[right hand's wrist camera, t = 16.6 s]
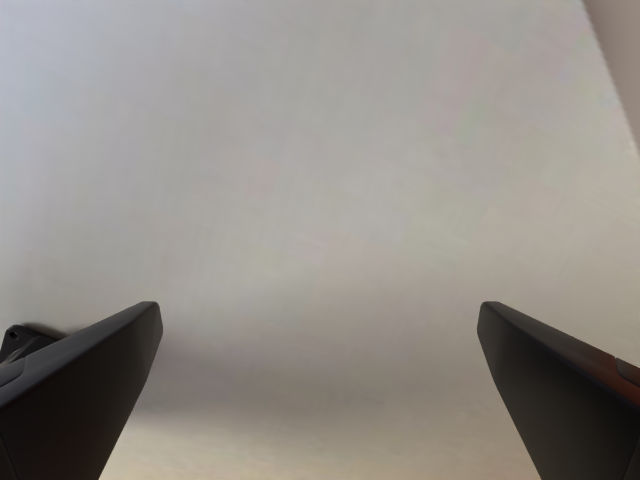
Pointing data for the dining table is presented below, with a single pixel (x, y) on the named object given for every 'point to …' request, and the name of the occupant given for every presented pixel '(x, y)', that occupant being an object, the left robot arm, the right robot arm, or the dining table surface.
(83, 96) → the dining table surface
